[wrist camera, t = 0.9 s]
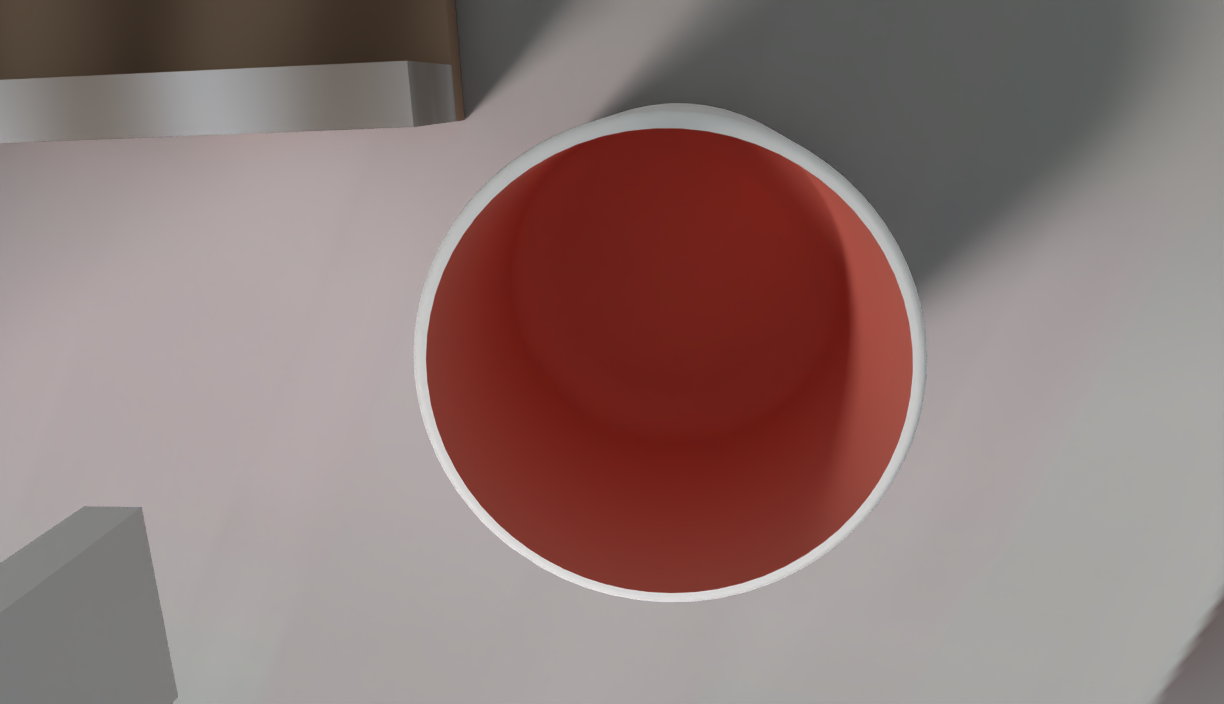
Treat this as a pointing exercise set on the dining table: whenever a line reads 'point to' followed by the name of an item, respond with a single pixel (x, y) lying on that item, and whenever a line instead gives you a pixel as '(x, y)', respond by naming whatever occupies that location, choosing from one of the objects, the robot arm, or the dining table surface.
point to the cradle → (224, 67)
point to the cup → (670, 355)
